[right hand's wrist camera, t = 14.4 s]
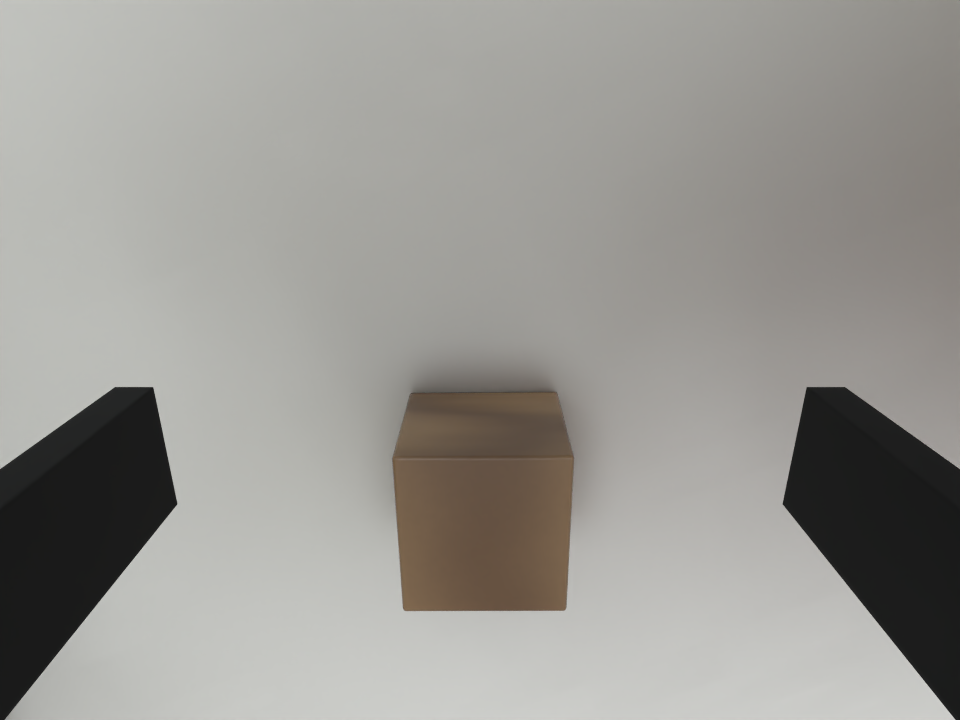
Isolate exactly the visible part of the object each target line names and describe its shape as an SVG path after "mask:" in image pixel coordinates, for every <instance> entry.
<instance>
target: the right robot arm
mask: <svg viewBox="0 0 960 720" xmlns="http://www.w3.org/2000/svg"><path fill="white" fill-rule="evenodd" d="M176 505H177V500H176V495H175V490H174V486H173V481H172V476H171V471H170V466H169V461H168V457H167V452H166V447H165V442H164V437H163V432H162V427H161V423H160V418H159V413H158V408H157V403H156V398H155V394H154V389H153V387H115V388H113V389H112V390H111V391H109V392H108V393H106V394H105V395H104V396H102V397H101V398H99V399H98V400H97V401H95V402H94V403H92V404H91V405H90V406H88V407H87V408H85V409H84V410H83V411H81V412H80V413H78V414H77V415H76V416H74V417H73V418H71V419H70V420H69V421H67V422H66V423H64V424H63V425H62V426H60V427H59V428H57V429H56V430H55V431H53V432H52V433H50V434H49V435H48V436H46V437H45V438H43V439H42V440H41V441H39V442H38V443H36V444H35V445H34V446H32V447H31V448H29V449H28V450H27V451H25V452H24V453H22V454H21V455H20V456H18V457H17V458H15V459H14V460H13V461H11V462H10V463H8V464H7V465H6V466H4V467H3V468H1V469H0V720H5V718H6V717H7V716H8V715H9V713H10V712H11V711H12V710H13V708H14V707H15V706H16V705H17V703H18V702H19V701H20V700H21V698H22V697H23V696H24V695H25V693H26V692H27V691H28V690H29V688H30V687H31V686H32V685H33V683H34V682H35V681H36V680H37V678H38V677H39V676H40V675H41V673H42V672H43V671H44V670H45V668H46V667H47V666H48V665H49V663H50V662H51V661H52V660H53V659H54V657H55V656H56V655H57V654H58V652H59V651H60V650H61V649H62V647H63V646H64V645H65V644H66V642H67V641H68V640H69V639H70V637H71V636H72V635H73V634H74V632H75V631H76V630H77V629H78V627H79V626H80V625H81V624H82V622H83V621H84V620H85V619H86V617H87V616H88V615H89V614H90V612H91V611H92V610H93V609H94V607H95V606H96V605H97V604H98V602H99V601H100V600H101V599H102V597H103V596H104V595H105V594H106V592H107V591H108V590H109V589H110V587H111V586H112V585H113V584H114V582H115V581H116V580H117V579H118V577H119V576H120V575H121V574H122V572H123V571H124V570H125V569H126V567H127V566H128V565H129V564H130V562H131V561H132V560H133V559H134V557H135V556H136V555H137V554H138V553H139V551H140V550H141V549H142V548H143V546H144V545H145V544H146V543H147V541H148V540H149V539H150V538H151V536H152V535H153V534H154V533H155V531H156V530H157V529H158V528H159V526H160V525H161V524H162V523H163V521H164V520H165V519H166V518H167V516H168V515H169V514H170V513H171V511H172V510H173V509H174V508H175V506H176ZM783 505H784V506H785V508H786V509H787V510H788V511H789V513H790V514H791V515H792V516H793V518H794V519H795V520H796V521H797V523H798V524H799V525H800V526H801V528H802V529H803V530H804V531H805V533H806V534H807V535H808V536H809V538H810V539H811V540H812V541H813V543H814V544H815V545H816V546H817V548H818V549H819V550H820V551H821V553H822V554H823V555H824V556H825V557H826V559H827V560H828V561H829V562H830V564H831V565H832V566H833V567H834V569H835V570H836V571H837V572H838V574H839V575H840V576H841V577H842V579H843V580H844V581H845V582H846V584H847V585H848V586H849V587H850V589H851V590H852V591H853V592H854V594H855V595H856V596H857V597H858V599H859V600H860V601H861V602H862V604H863V605H864V606H865V607H866V609H867V610H868V611H869V612H870V614H871V615H872V616H873V617H874V619H875V620H876V621H877V622H878V624H879V625H880V626H881V627H882V629H883V630H884V631H885V632H886V634H887V635H888V636H889V637H890V639H891V640H892V641H893V642H894V644H895V645H896V646H897V647H898V649H899V650H900V651H901V652H902V654H903V655H904V656H905V657H906V659H907V660H908V661H909V662H910V663H911V665H912V666H913V667H914V668H915V670H916V671H917V672H918V673H919V675H920V676H921V677H922V678H923V680H924V681H925V682H926V683H927V685H928V686H929V687H930V688H931V690H932V691H933V692H934V693H935V695H936V696H937V697H938V698H939V700H940V701H941V702H942V703H943V705H944V706H945V707H946V708H947V710H948V711H949V712H950V713H951V715H952V716H953V717H954V718H955V720H960V469H959V468H957V467H956V466H954V465H953V464H952V463H950V462H949V461H947V460H946V459H945V458H943V457H942V456H940V455H939V454H938V453H936V452H935V451H933V450H932V449H931V448H929V447H928V446H926V445H925V444H924V443H922V442H921V441H919V440H918V439H917V438H915V437H914V436H912V435H911V434H910V433H908V432H907V431H905V430H904V429H903V428H901V427H900V426H898V425H897V424H896V423H894V422H893V421H891V420H890V419H889V418H887V417H886V416H884V415H883V414H882V413H880V412H879V411H877V410H876V409H875V408H873V407H872V406H870V405H869V404H868V403H866V402H865V401H863V400H862V399H861V398H859V397H858V396H856V395H855V394H854V393H852V392H851V391H849V390H848V389H847V388H845V387H807V389H806V394H805V398H804V403H803V408H802V413H801V418H800V423H799V427H798V432H797V437H796V442H795V447H794V452H793V457H792V461H791V466H790V471H789V476H788V481H787V486H786V490H785V495H784V500H783Z"/></svg>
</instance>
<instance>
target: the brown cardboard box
mask: <svg viewBox="0 0 960 720" xmlns="http://www.w3.org/2000/svg"><path fill="white" fill-rule="evenodd" d="M392 461H393V475H394V489H395V503H396V517H397V531H398V545H399V559H400V573H401V587H402V601H403V609H404V611H564V610H565V609H566V605H567V585H568V566H569V547H570V527H571V508H572V488H573V469H574V455H573V452H572V448H571V444H570V440H569V436H568V433H567V429H566V425H565V421H564V417H563V414H562V410H561V406H560V402H559V398H558V395H557V393H555V392H524V393H411V394H410V396H409V400H408V403H407V407H406V411H405V414H404V418H403V422H402V425H401V429H400V432H399V436H398V440H397V443H396V447H395V451H394V454H393V458H392Z"/></svg>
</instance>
